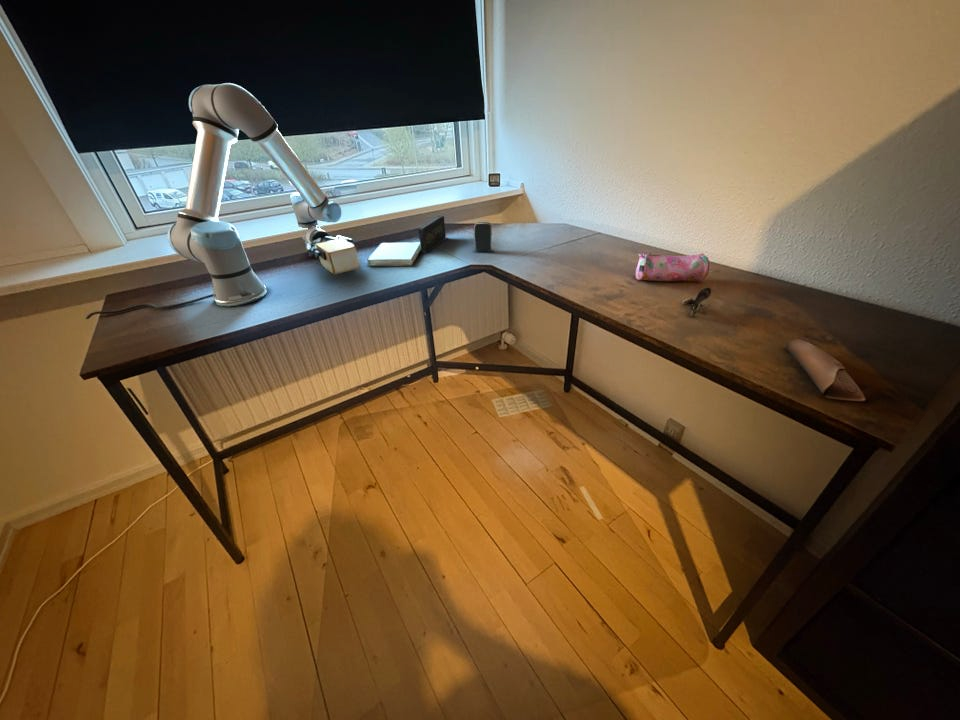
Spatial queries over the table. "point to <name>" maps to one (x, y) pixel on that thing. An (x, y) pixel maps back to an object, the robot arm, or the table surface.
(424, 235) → the nameplate
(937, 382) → the table surface
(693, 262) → the pencil case
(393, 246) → the block
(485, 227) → the battery charger
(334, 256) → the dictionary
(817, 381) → the sunglasses case
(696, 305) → the eagle figurine
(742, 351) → the table surface
